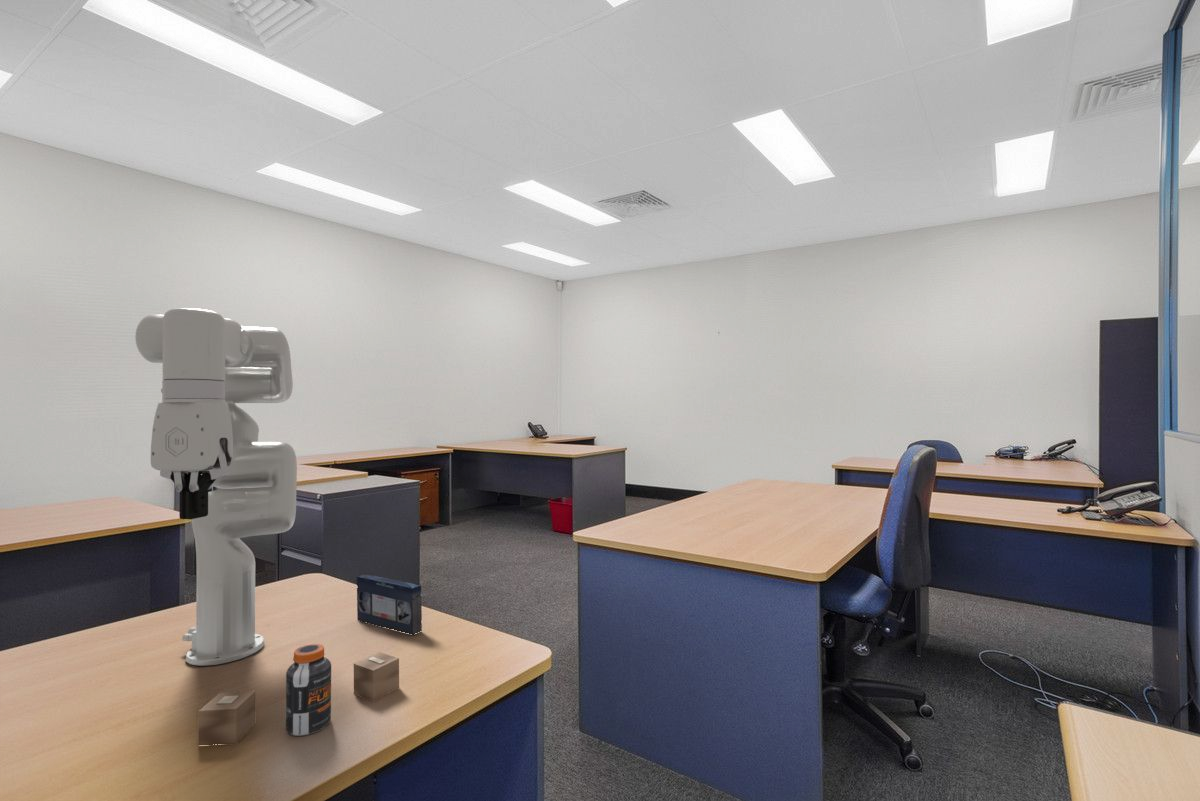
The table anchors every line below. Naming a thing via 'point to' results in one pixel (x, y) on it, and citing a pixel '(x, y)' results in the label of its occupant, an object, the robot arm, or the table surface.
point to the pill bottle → (308, 691)
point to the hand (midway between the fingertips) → (194, 517)
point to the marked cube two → (376, 676)
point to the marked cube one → (226, 718)
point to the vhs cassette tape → (389, 603)
